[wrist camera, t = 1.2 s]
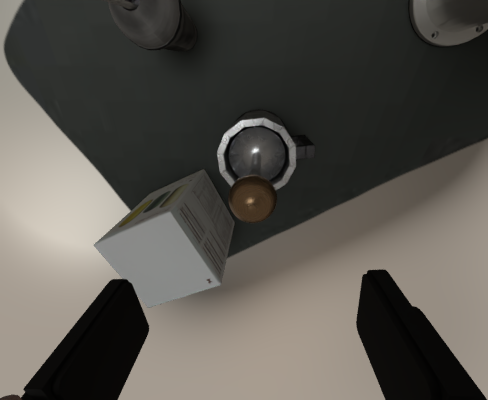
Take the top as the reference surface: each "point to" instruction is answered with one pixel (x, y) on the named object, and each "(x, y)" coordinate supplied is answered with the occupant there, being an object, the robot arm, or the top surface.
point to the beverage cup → (155, 23)
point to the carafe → (261, 118)
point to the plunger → (255, 173)
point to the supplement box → (172, 241)
